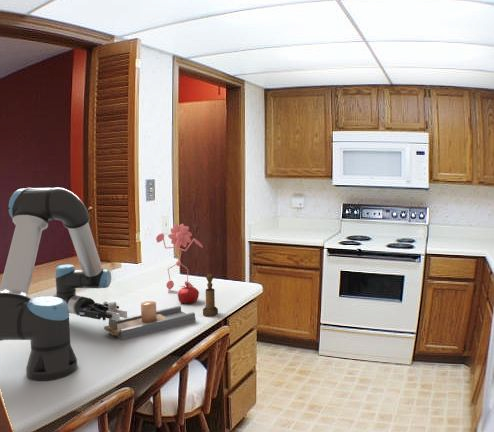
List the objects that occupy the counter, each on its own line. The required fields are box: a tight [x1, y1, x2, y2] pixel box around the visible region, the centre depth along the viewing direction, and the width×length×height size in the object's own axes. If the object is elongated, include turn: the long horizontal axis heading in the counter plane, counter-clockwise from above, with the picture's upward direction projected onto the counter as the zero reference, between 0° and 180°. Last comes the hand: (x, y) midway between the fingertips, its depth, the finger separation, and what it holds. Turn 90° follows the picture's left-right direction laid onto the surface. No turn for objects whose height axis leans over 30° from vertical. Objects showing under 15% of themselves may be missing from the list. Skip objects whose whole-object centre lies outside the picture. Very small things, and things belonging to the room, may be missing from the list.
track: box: [115, 305, 196, 341], centre depth 190 cm, size 32×14×4 cm, turn 128°
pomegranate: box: [177, 283, 200, 304], centre depth 222 cm, size 10×10×9 cm
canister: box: [140, 300, 157, 323], centre depth 189 cm, size 6×6×7 cm
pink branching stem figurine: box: [155, 223, 204, 294], centre depth 241 cm, size 15×26×35 cm, turn 76°
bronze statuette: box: [202, 273, 219, 318], centre depth 203 cm, size 7×6×18 cm
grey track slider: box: [103, 301, 167, 336], centre depth 186 cm, size 24×9×11 cm, turn 128°
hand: (122, 315), depth 177 cm, fingers closed on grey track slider, 3 cm apart
